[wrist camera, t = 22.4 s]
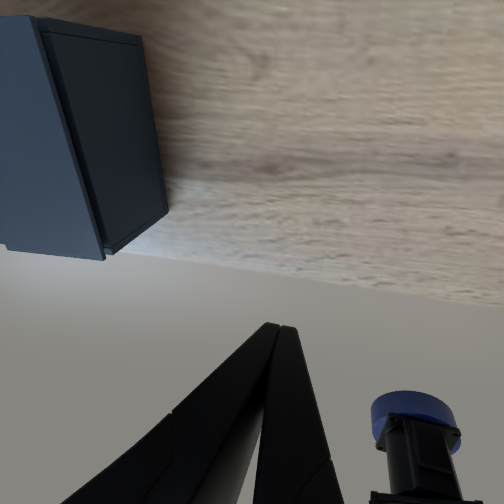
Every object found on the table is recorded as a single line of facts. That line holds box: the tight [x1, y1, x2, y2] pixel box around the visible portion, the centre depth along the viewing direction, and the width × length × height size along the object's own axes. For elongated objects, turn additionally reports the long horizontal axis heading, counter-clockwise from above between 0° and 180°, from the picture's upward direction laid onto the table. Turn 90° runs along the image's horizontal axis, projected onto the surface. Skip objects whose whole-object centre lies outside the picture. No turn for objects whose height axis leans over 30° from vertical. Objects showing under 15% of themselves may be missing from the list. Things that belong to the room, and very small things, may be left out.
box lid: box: [0, 15, 106, 261], centre depth 14 cm, size 6×11×1 cm, turn 0°
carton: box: [0, 17, 168, 255], centre depth 18 cm, size 13×11×7 cm
